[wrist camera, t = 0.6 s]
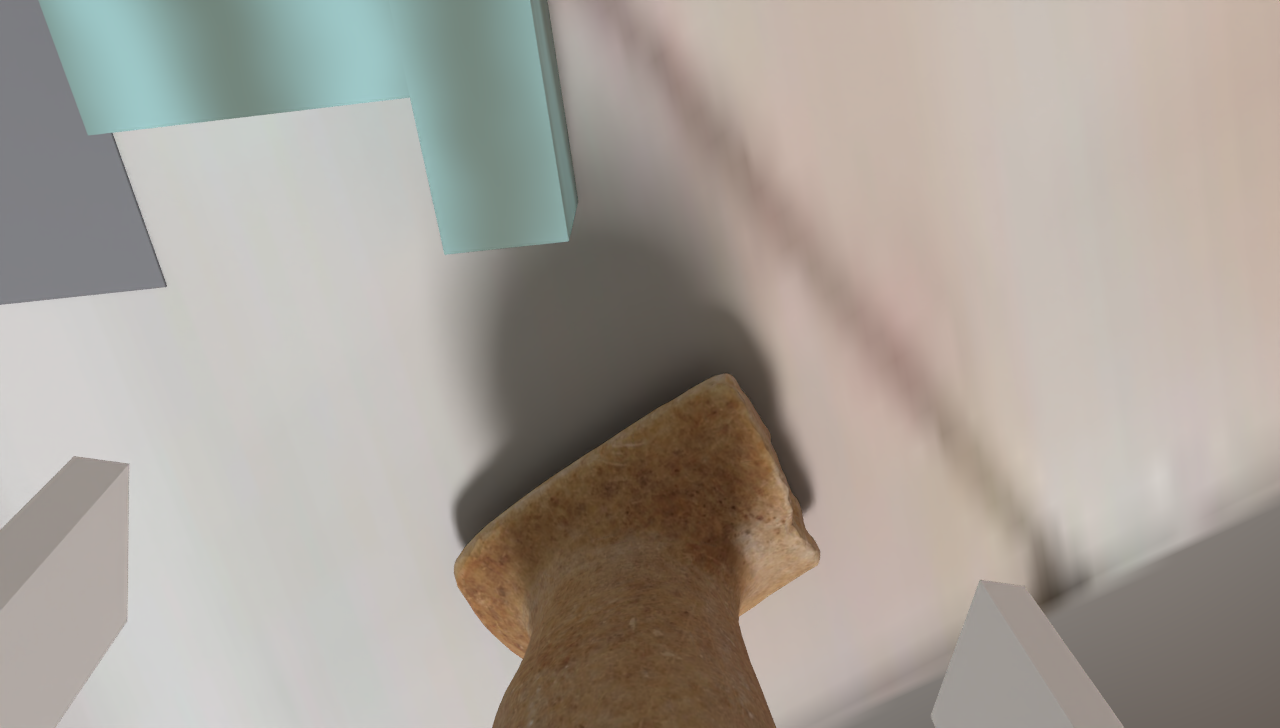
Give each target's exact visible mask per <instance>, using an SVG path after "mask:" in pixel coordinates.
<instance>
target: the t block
mask: <svg viewBox="0 0 1280 728" xmlns="http://www.w3.org/2000/svg"><path fill="white" fill-rule="evenodd" d="M38 1H39V3H40V6H41V9H42V12H43V14H44V17H45V20H46V23H47V25H48V28H49V31H50V33H51V36H52V39H53V42H54V44H55V47H56V50H57V52H58V55H59V58H60V61H61V63H62V66H63V69H64V71H65V74H66V77H67V80H68V82H69V85H70V88H71V91H72V93H73V96H74V99H75V101H76V104H77V107H78V110H79V112H80V115H81V118H82V120H83V123H84V126H85V129H86V131H87V134H88V135H97V134H105V133H114V132H122V131H131V130H139V129H147V128H156V127H164V126H173V125H181V124H190V123H198V122H207V121H215V120H223V119H232V118H240V117H249V116H257V115H266V114H274V113H283V112H291V111H299V110H308V109H316V108H325V107H333V106H342V105H350V104H359V103H367V102H376V101H384V100H392V99H401V98H409V97H410V100H411V104H412V109H413V113H414V118H415V122H416V127H417V131H418V136H419V140H420V145H421V150H422V154H423V159H424V163H425V168H426V172H427V177H428V181H429V186H430V190H431V195H432V200H433V204H434V209H435V213H436V218H437V222H438V227H439V231H440V236H441V240H442V245H443V250H444V254H445V255H446V254H456V253H465V252H474V251H484V250H493V249H502V248H512V247H521V246H531V245H540V244H549V243H559V242H568V241H569V238H570V234H571V230H572V225H573V221H574V217H575V212H576V208H577V204H578V197H577V191H576V184H575V178H574V171H573V165H572V158H571V152H570V145H569V139H568V132H567V126H566V119H565V113H564V106H563V100H562V93H561V87H560V80H559V74H558V67H557V61H556V54H555V48H554V41H553V35H552V28H551V22H550V15H549V8H548V2H547V0H38Z"/></svg>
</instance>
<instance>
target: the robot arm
mask: <svg viewBox="0 0 1280 728" xmlns="http://www.w3.org/2000/svg"><path fill="white" fill-rule="evenodd" d="M128 524H129V464H127V463H120V462H112V461H105V460H98V459H90V458H83V457H76V456H74V457H73V458H72V459H71V460H70V461H69V462H68V463H67V464H66V465H65V466H64V467H63V468H62V469H61V470H60V471H59V472H58V473H57V474H56V475H55V476H54V477H53V478H52V479H51V480H50V481H49V482H48V483H47V484H46V485H45V486H44V487H43V488H42V489H41V490H40V491H39V492H38V493H37V494H36V495H35V496H34V497H33V498H32V499H31V500H30V501H29V502H28V503H27V504H26V505H25V506H24V507H23V508H22V509H21V510H20V511H19V512H18V513H17V514H16V515H15V516H14V517H13V518H12V519H11V520H10V521H9V522H8V523H7V524H6V525H5V526H4V527H3V528H2V529H1V530H0V728H55V727H56V726H57V724H58V723H59V722H60V720H61V719H62V717H63V716H64V714H65V713H66V711H67V710H68V708H69V707H70V705H71V704H72V702H73V701H74V699H75V698H76V696H77V695H78V693H79V692H80V690H81V689H82V687H83V686H84V684H85V683H86V681H87V680H88V678H89V677H90V675H91V674H92V673H93V671H94V670H95V668H96V667H97V665H98V664H99V662H100V661H101V659H102V658H103V656H104V655H105V653H106V652H107V650H108V649H109V647H110V646H111V644H112V643H113V641H114V640H115V638H116V637H117V635H118V634H119V632H120V631H121V629H122V628H123V627H124V625H125V624H126V622H127V602H128ZM931 718H932V721H933V723H934V725H935V727H936V728H1124V727H1123V725H1122V724H1121V722H1120V721H1119V719H1118V718H1117V717H1116V715H1115V714H1114V712H1113V711H1112V710H1111V708H1110V707H1109V705H1108V704H1107V702H1106V701H1105V700H1104V698H1103V697H1102V695H1101V694H1100V692H1099V691H1098V690H1097V688H1096V687H1095V685H1094V684H1093V683H1092V681H1091V680H1090V678H1089V677H1088V675H1087V674H1086V673H1085V671H1084V670H1083V668H1082V667H1081V666H1080V664H1079V663H1078V661H1077V660H1076V658H1075V657H1074V656H1073V654H1072V653H1071V651H1070V650H1069V648H1068V647H1067V646H1066V644H1065V643H1064V641H1063V640H1062V639H1061V637H1060V636H1059V634H1058V633H1057V631H1056V630H1055V629H1054V627H1053V626H1052V624H1051V623H1050V622H1049V620H1048V619H1047V617H1046V616H1045V614H1044V613H1043V612H1042V610H1041V609H1040V607H1039V606H1038V604H1037V603H1036V602H1035V600H1034V599H1033V597H1032V596H1031V595H1030V593H1029V592H1028V590H1027V589H1026V587H1025V586H1021V585H1014V584H1006V583H999V582H992V581H984V580H980V581H979V584H978V586H977V589H976V592H975V595H974V597H973V600H972V603H971V606H970V609H969V611H968V614H967V617H966V620H965V622H964V625H963V628H962V631H961V633H960V636H959V639H958V642H957V644H956V647H955V650H954V653H953V656H952V658H951V661H950V664H949V667H948V669H947V672H946V675H945V678H944V680H943V683H942V686H941V689H940V692H939V695H938V697H937V700H936V703H935V706H934V708H933V711H932V714H931Z"/></svg>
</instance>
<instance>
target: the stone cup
mask: <svg viewBox="0 0 1280 728" xmlns="http://www.w3.org/2000/svg"><path fill="white" fill-rule="evenodd" d="M819 560H820V550H819V548H818V546H817V544H816V542H815V540H814V539H813V537H811V536H810V535H809V533H808V532H807V530H806V528H805V525H804V522H803V516H802V510H801V507H800V505H799V502H798V500H797V499H796V497H795V496H794V495H793V494H792V492H791V489H790V487H789V485H788V482H787V480H786V476H785V475H784V473H783V471H782V469H781V465H780V463H779V460H778V456H777V454H776V452H775V450H774V448H773V446H772V444H771V434H770V432H769V430H768V429H767V427H766V426H765V425H764V423H763V422H762V420H761V418H760V417H759V415H758V413H757V411H756V410H755V408H754V406H753V405H752V403H751V401H750V400H749V398H748V397H747V395H746V394H745V393H744V392H743V391H742V390H741V388H740V386H739V384H738V383H737V381H736V379H735V378H734V377H733V376H732V375H730V374H727V373H725V374H720V375H716V376H713V377H711V378H709V379H707V380H705V381H703V382H702V383H700V384H698V385H696V386H694V387H693V388H691V389H689V390H688V391H686V392H685V393H683V394H681V395H680V396H678V397H677V398H675V399H673V400H672V401H670V402H668V403H666V404H664V405H662V406H660V407H658V408H657V409H655V410H653V411H652V412H650V413H649V414H647V415H646V416H644V417H643V418H641V419H640V420H638V421H636V422H635V423H633V424H632V425H630V426H629V427H627V428H626V429H624V430H623V431H621V432H620V433H618V434H617V435H615V436H614V437H612V438H611V439H609V440H608V441H606V442H605V443H603V444H602V445H600V446H599V447H597V448H595V449H594V450H592V451H590V452H589V453H587V454H585V455H584V456H582V457H581V458H579V459H578V460H576V461H575V462H573V463H572V464H570V465H569V466H567V467H566V468H564V469H563V470H561V471H560V472H558V473H557V474H555V475H554V476H552V477H551V478H549V479H548V480H546V481H545V482H543V483H542V484H541V485H539V486H538V487H536V488H535V489H534V490H532V491H531V492H530V493H528V494H527V495H526V496H524V497H523V498H522V499H520V500H519V501H518V502H516V503H515V504H514V505H512V506H511V507H510V508H508V509H507V510H506V511H504V512H503V513H502V514H500V515H499V516H498V517H496V518H495V519H494V520H493V521H491V522H490V523H489V524H487V525H486V526H485V527H484V528H483V529H482V530H481V531H480V532H479V533H478V534H477V535H476V536H475V537H474V538H473V539H472V540H471V541H470V542H469V543H468V544H467V545H466V547H465V548H464V549H463V551H462V552H461V554H460V555H459V556H458V558H457V559H456V562H455V565H454V575H455V579H456V582H457V586H458V588H459V589H460V591H461V592H462V594H463V595H464V597H465V598H466V600H467V602H468V603H469V605H470V606H471V608H472V609H473V611H474V612H475V614H476V615H477V616H478V618H479V619H480V620H481V622H482V623H483V624H484V626H485V627H486V628H487V629H488V630H489V631H490V632H491V633H492V634H493V635H494V636H495V637H496V638H497V639H499V640H500V641H501V642H502V643H503V644H504V645H505V646H506V647H508V648H509V649H510V650H511V651H512V652H514V653H515V654H516V655H518V656H519V657H521V658H522V659H523V660H522V662H521V664H520V667H519V669H518V670H517V672H516V674H515V676H514V677H513V679H512V681H511V683H510V685H509V686H508V688H507V690H506V692H505V694H504V696H503V699H502V701H501V703H500V706H499V708H498V711H497V714H496V716H495V720H494V723H493V727H492V728H776V726H775V723H774V721H773V718H772V716H771V713H770V710H769V708H768V705H767V702H766V700H765V697H764V695H763V692H762V689H761V687H760V684H759V682H758V679H757V677H756V674H755V672H754V670H753V667H752V665H751V662H750V659H749V656H748V653H747V650H746V647H745V644H744V641H743V638H742V634H741V630H740V626H739V623H738V621H739V616H740V615H742V614H744V613H745V612H747V611H748V610H750V609H751V608H753V607H754V606H756V605H757V604H758V603H760V602H761V601H762V600H764V599H765V598H766V597H768V596H769V595H771V594H772V593H774V592H775V591H777V590H778V589H780V588H782V587H783V586H785V585H786V584H788V583H789V582H791V581H793V580H794V579H796V578H797V577H799V576H800V575H802V574H803V573H805V572H807V571H808V570H810V569H812V568H814V567H815V566H817V565H818V563H819Z"/></svg>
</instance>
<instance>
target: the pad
mask: <svg viewBox="0 0 1280 728" xmlns="http://www.w3.org/2000/svg"><path fill="white" fill-rule="evenodd" d="M166 286H167V285H166V282H165V279H164V276H163V274H162V271H161V268H160V265H159V262H158V260H157V257H156V254H155V251H154V248H153V246H152V243H151V240H150V237H149V234H148V232H147V229H146V226H145V223H144V220H143V218H142V215H141V212H140V209H139V206H138V204H137V201H136V198H135V195H134V192H133V190H132V187H131V184H130V181H129V178H128V176H127V173H126V170H125V167H124V164H123V162H122V159H121V156H120V153H119V150H118V148H117V145H116V142H115V139H114V136H113V134H112V133H105V134H97V135H88V134H87V131H86V129H85V126H84V123H83V120H82V118H81V115H80V112H79V110H78V107H77V104H76V101H75V99H74V96H73V93H72V91H71V88H70V85H69V82H68V80H67V77H66V74H65V71H64V69H63V66H62V63H61V61H60V58H59V55H58V52H57V50H56V47H55V44H54V42H53V39H52V36H51V33H50V31H49V28H48V25H47V23H46V20H45V17H44V14H43V12H42V9H41V6H40V3H39V1H38V0H0V305H2V304H11V303H21V302H30V301H40V300H49V299H58V298H68V297H77V296H87V295H96V294H105V293H115V292H124V291H133V290H143V289H152V288H162V287H166Z"/></svg>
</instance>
